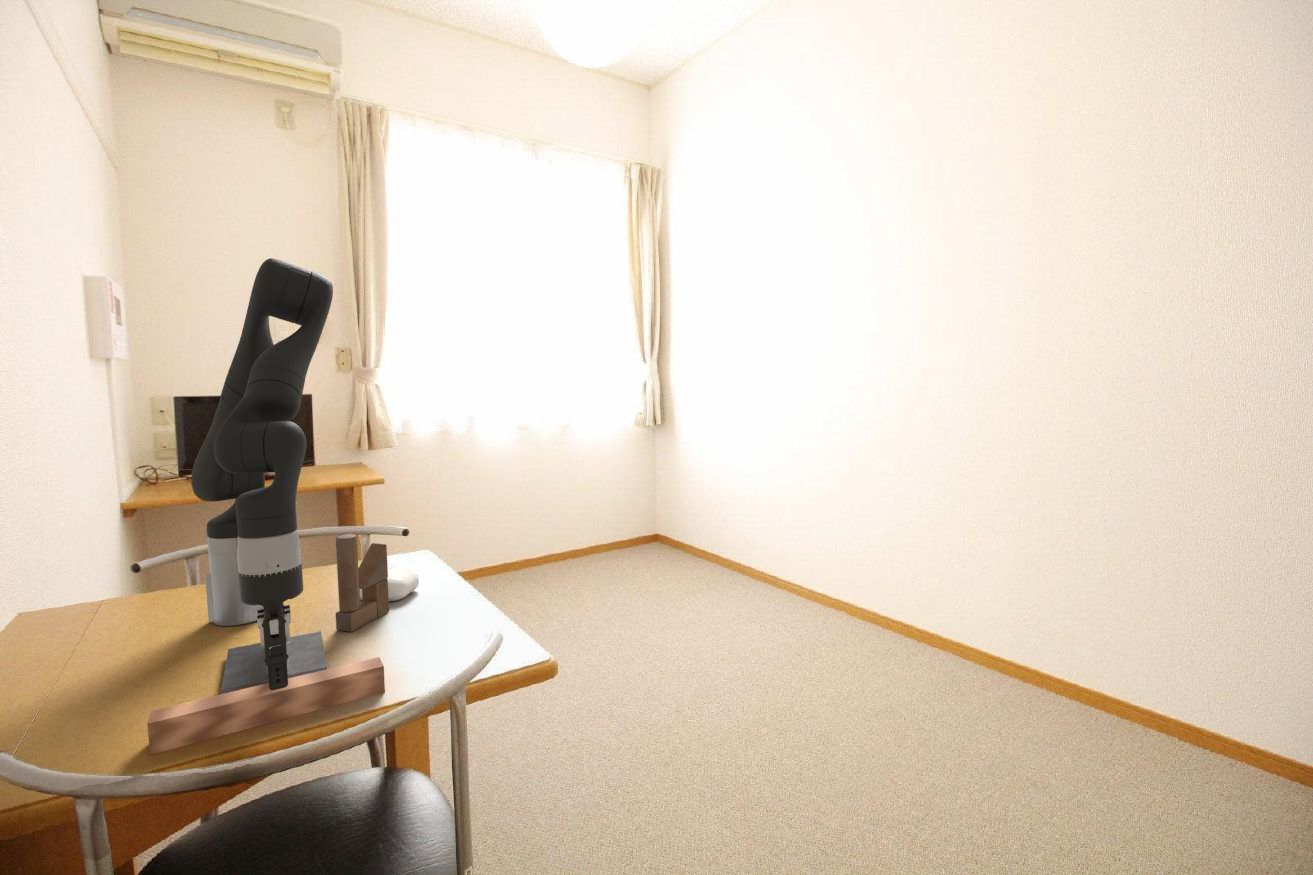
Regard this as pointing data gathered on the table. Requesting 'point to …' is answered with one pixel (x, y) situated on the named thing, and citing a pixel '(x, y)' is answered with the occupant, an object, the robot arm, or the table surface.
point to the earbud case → (400, 583)
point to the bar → (262, 704)
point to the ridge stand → (252, 671)
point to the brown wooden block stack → (360, 583)
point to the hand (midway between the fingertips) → (278, 675)
